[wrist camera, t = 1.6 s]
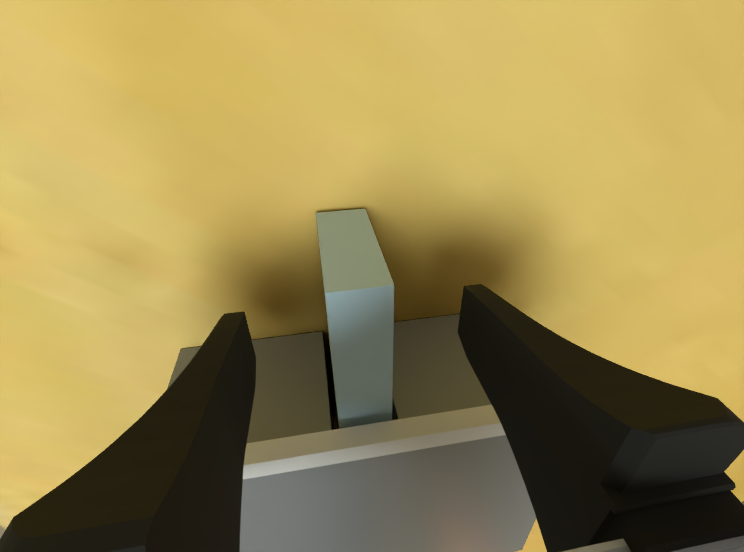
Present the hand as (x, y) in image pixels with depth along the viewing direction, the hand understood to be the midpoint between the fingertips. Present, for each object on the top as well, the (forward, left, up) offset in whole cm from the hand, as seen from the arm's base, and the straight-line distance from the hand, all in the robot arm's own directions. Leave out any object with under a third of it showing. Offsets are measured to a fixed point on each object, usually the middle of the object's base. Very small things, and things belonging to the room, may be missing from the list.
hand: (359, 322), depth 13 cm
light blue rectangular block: (-5, 0, -5) cm, 7 cm away
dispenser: (-10, 0, -5) cm, 11 cm away
